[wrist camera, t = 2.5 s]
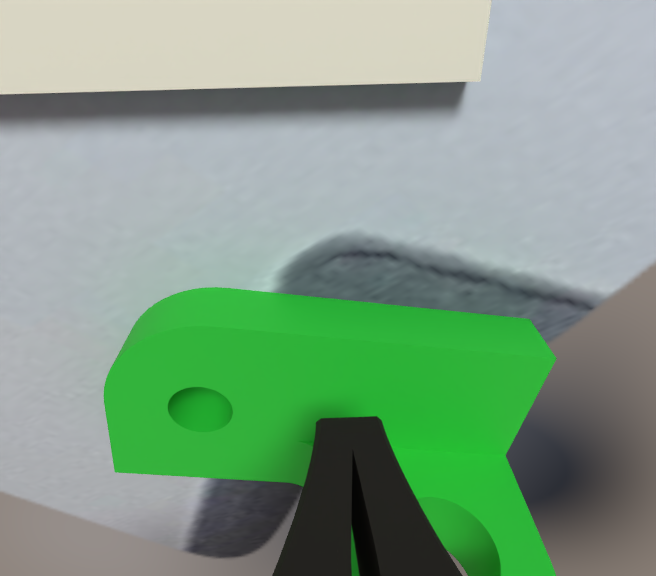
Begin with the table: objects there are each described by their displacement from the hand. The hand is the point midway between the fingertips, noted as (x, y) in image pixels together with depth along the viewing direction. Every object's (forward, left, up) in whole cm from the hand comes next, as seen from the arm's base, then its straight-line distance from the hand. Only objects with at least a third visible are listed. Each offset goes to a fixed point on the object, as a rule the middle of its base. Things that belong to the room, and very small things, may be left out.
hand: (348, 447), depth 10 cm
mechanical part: (+1, +2, -5) cm, 5 cm away
